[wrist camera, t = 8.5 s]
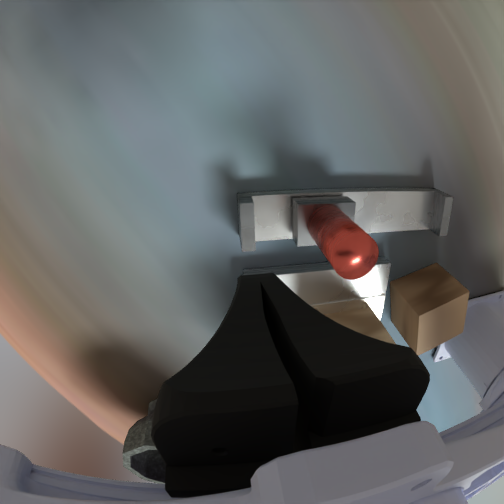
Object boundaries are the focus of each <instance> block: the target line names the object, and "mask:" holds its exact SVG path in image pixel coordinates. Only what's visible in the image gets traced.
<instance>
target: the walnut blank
mask: <svg viewBox="0 0 504 504" xmlns="http://www.w3.org/2000/svg"><path fill="white" fill-rule="evenodd" d="M390 298H391V321H392V323H393V324H394V326H395V327H396V328H397V330H398V331H399V333H400V334H401V335H402V337H403V338H404V340H405V341H406V342H407V344H408V345H409V347H410V348H412V349H413V350H414V351H415V353H416V354H417V355H420V354H422V353H424V352H426V351H428V350H430V349H432V348H434V347H436V346H438V345H440V344H442V343H444V342H446V341H448V340H450V339H452V338H454V337H456V336H457V335H459V334H461V333H463V329H464V324H465V318H466V312H467V306H468V299H469V291H468V290H467V289H466V288H465V287H464V286H463V285H462V284H461V283H460V282H458V281H457V280H456V279H455V278H454V277H453V276H452V275H450V274H449V273H448V272H447V271H446V270H445V269H443V268H442V267H441V266H440V265H439V264H438V263H434V264H432V265H430V266H427V267H425V268H423V269H420V270H418V271H415V272H413V273H410V274H408V275H406V276H403V277H401V278H398V279H396V280H393V281H391V282H390Z"/></svg>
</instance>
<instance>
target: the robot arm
mask: <svg viewBox="0 0 504 504" xmlns="http://www.w3.org/2000/svg"><path fill="white" fill-rule="evenodd" d="M450 357H452V359H453V360H454V361H455V363H456V364H457V365H458V367H459V368H460V369H461V371H462V372H463V373H464V375H465V376H466V377H467V379H468V380H469V381H470V383H471V384H472V385H473V387H474V388H475V390H476V391H477V392H478V394H479V395H480V397H481V398H482V401H481V402H480V403H479V404H480V406H481V407H482V409H483V410H482V411H481V413H480V414H478V415H476V416H474V417H472V418H470V419H468V420H466V421H464V422H462V423H460V424H458V425H456V426H454V427H451V428H449V429H447V430H445V431H443V432H440V433H438V431H437V429H436V427H435V426H434V425H433V424H431V423H429V422H427V421H421V419H420V416H419V414H418V413H417V411H416V409H417V407H418V405H419V404H420V402H421V400H422V398H423V396H424V394H425V392H426V390H427V387H428V384H429V381H430V374H429V372H428V370H427V369H426V367H425V366H424V364H423V362H422V361H421V359H420V358H419V357H418V355H417V354H416V353H415V351H414V350H413V349H412V348H410V347H406V346H401V345H397V344H393V343H388V342H385V341H381V340H378V339H375V338H372V337H369V336H366V335H364V334H361V333H359V332H356V331H354V330H352V329H350V328H347V327H345V326H343V325H341V324H339V323H337V322H335V321H334V320H332V319H330V318H329V317H327V316H325V315H323V314H322V313H320V312H319V311H317V310H316V309H314V308H313V307H312V306H310V305H309V304H308V303H306V302H305V301H304V300H302V299H301V298H300V297H299V296H298V295H297V294H295V293H294V292H293V291H292V290H291V289H290V288H289V287H288V286H287V285H286V284H285V283H284V282H283V281H282V280H281V279H280V278H279V277H277V276H276V275H275V274H274V273H263V274H251V275H241V276H240V277H239V278H238V284H237V289H236V292H235V295H234V298H233V301H232V303H231V306H230V308H229V310H228V312H227V314H226V316H225V318H224V320H223V322H222V323H221V325H220V327H219V328H218V330H217V331H216V333H215V334H214V336H213V337H212V338H211V339H210V341H209V342H208V343H207V345H206V346H205V347H204V348H203V349H202V351H201V352H200V353H199V354H198V355H197V356H196V357H195V358H194V359H193V360H192V361H191V362H190V363H189V364H188V365H187V366H185V367H184V368H183V369H182V370H181V371H179V372H178V373H177V374H175V375H174V376H172V377H171V378H170V379H168V380H167V381H165V382H164V383H163V385H162V387H161V390H160V393H159V395H158V398H157V401H156V405H155V408H154V412H153V419H152V428H151V438H152V441H153V443H154V445H155V447H156V449H157V450H158V452H159V454H160V455H161V457H162V459H163V461H164V462H165V464H166V473H165V484H156V483H140V482H129V481H128V482H127V481H118V480H111V479H103V478H96V477H89V476H84V475H78V474H73V473H68V472H63V471H59V470H54V469H50V468H46V467H42V466H38V465H34V464H32V463H31V461H30V460H29V459H28V458H27V457H26V456H25V455H24V454H23V453H21V452H19V451H18V450H16V449H13V448H10V447H7V446H4V445H0V504H468V502H467V500H468V499H470V498H471V497H473V496H475V495H476V494H478V493H479V492H481V491H482V490H484V489H485V488H487V487H488V486H489V485H491V484H492V483H494V482H495V481H497V480H498V479H499V478H501V477H502V476H503V475H504V291H500V292H497V293H493V294H489V295H485V296H482V297H478V298H474V299H470V300H468V306H467V312H466V318H465V324H464V329H463V333H461V334H459V335H457V336H456V337H454V338H452V339H450V340H448V341H446V342H444V343H442V344H440V345H438V347H437V350H436V352H435V355H434V357H433V361H434V362H438V361H441V360H444V359H447V358H450Z"/></svg>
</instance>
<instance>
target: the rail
mask: <svg viewBox="0 0 504 504" xmlns="http://www.w3.org/2000/svg"><path fill="white" fill-rule="evenodd" d="M339 196H347V197H349V198H350V199H352V200H353V201H354V202H356V207H355V220H354V222H355V223H356V224H357V225H358V226H359V227H360V228H362V229H363V230H364V231H365V232H366V233H378V232H393V231H409V230H424V229H430V230H431V231H432V232H434V233H435V234H437V235H438V236H447V232H448V227H449V221H450V215H451V209H452V203H453V197H452V196H450V195H448V194H446V193H444V192H442V191H440V190H437V189H435V188H329V189H300V190H278V191H260V192H244V193H237V202H238V220H239V237H240V242H241V248H242V252H247V251H256V248H255V241H267V240H280V239H293V238H292V227H293V198H312V197H339Z"/></svg>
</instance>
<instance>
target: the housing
mask: <svg viewBox="0 0 504 504" xmlns="http://www.w3.org/2000/svg"><path fill="white" fill-rule="evenodd" d="M323 315H325V316H327V317H329V318H330V319H332V320H334V321H335V322H337V323H339V324H341V325H343V326H345V327H347V328H350V329H352V330H354V331H356V332H359V333H361V334H364V335H366V336H369V337H372V338H375V339H378V340H381V341H385V342H388V343H393V344H396V343H395V342H394V340H393V339H392V337H391V336H390V334H389V333H388V332H387V330H386V329H385V327H384V326H383V324H382V323H381V321H380V320H379V318H378V317H377V316H376V314H375V313H374V311H373V310H372V308H364V309H358V310H351V311H344V312H337V313H330V314H323Z"/></svg>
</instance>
